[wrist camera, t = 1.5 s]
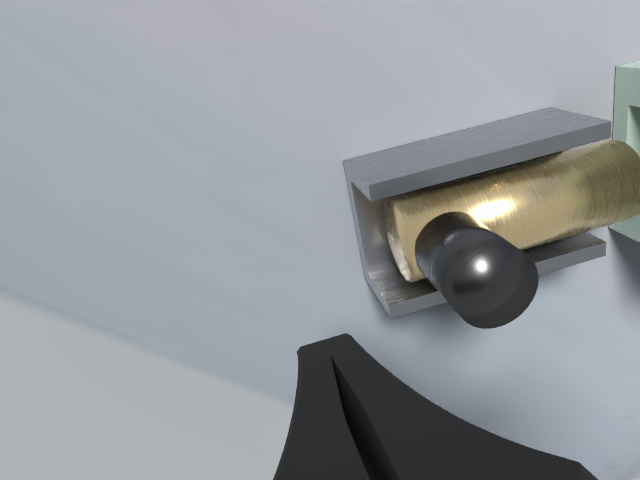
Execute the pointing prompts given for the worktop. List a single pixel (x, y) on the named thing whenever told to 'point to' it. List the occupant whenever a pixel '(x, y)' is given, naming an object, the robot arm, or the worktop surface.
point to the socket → (627, 127)
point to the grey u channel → (450, 165)
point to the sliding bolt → (508, 225)
